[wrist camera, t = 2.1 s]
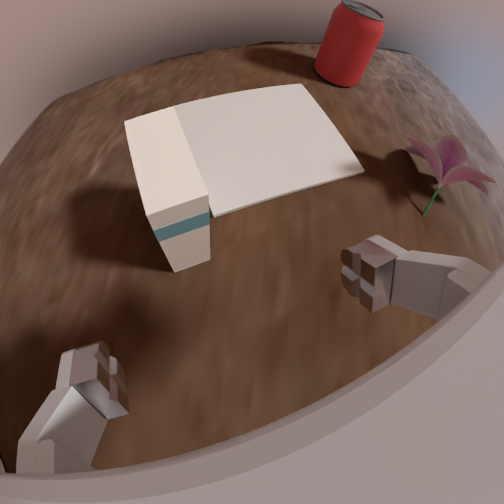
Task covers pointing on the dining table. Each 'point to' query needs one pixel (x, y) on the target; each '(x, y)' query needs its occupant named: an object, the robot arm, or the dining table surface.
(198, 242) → the card box
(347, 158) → the mat
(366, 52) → the beer can
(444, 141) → the lily
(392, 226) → the dining table surface
